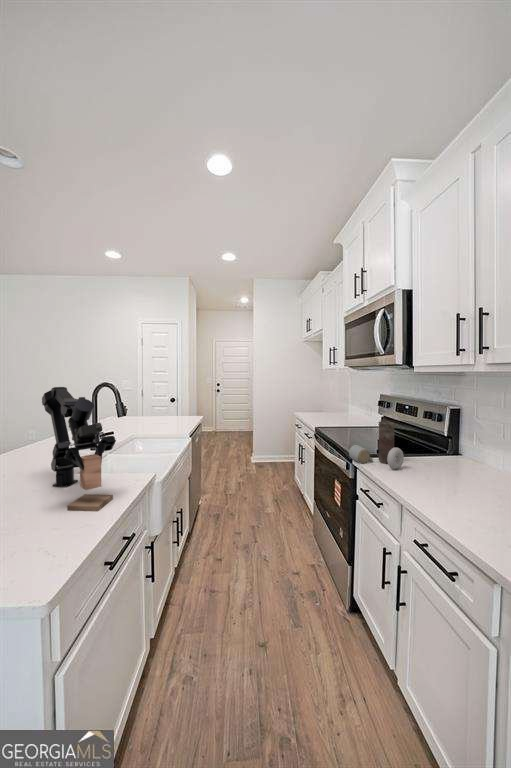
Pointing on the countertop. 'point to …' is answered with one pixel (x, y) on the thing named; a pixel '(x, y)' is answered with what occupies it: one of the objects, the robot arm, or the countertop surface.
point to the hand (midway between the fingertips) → (91, 467)
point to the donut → (394, 454)
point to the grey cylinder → (359, 454)
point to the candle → (385, 440)
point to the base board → (90, 502)
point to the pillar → (90, 472)
